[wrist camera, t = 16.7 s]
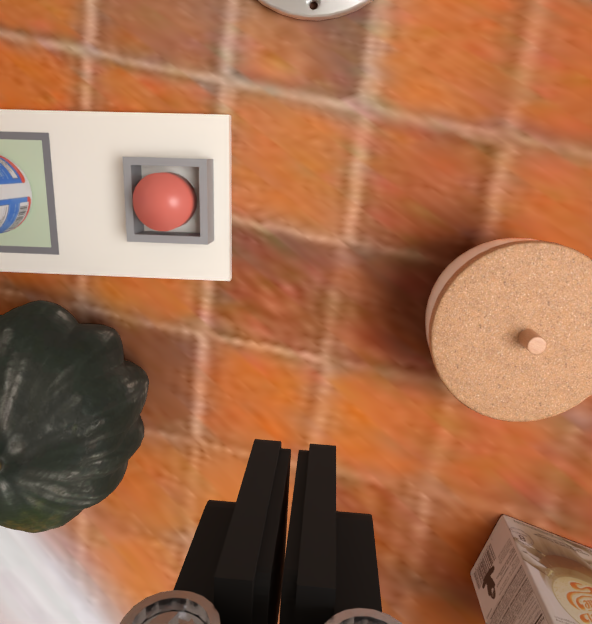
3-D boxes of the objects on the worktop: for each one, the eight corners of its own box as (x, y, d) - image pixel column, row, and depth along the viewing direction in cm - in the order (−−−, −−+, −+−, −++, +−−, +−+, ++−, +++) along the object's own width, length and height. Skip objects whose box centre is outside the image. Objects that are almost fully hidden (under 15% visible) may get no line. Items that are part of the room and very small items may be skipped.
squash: (-112, 467, 39) (-94, 625, 28) (-94, 265, 36) (-65, 356, 25) (88, 444, 48) (160, 557, 38) (118, 282, 45) (207, 354, 34)
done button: (142, 171, 36) (131, 171, 34) (196, 172, 36) (188, 173, 34) (144, 226, 37) (133, 230, 35) (197, 228, 37) (190, 232, 35)
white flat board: (-73, 108, 38) (-104, 104, 35) (231, 115, 37) (222, 112, 34) (-51, 267, 41) (-79, 274, 38) (231, 278, 39) (224, 287, 37)
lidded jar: (455, 201, 37) (494, 213, 28) (599, 263, 38) (683, 296, 28) (387, 340, 40) (402, 392, 31) (521, 397, 40) (575, 464, 31)
